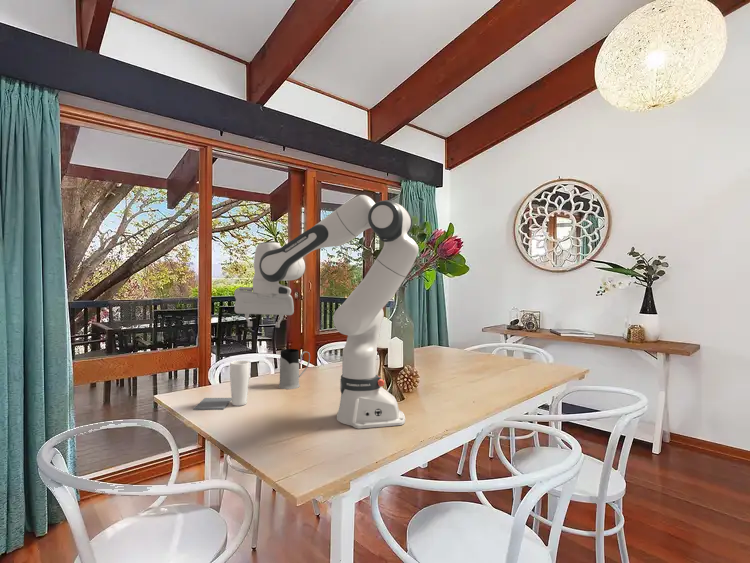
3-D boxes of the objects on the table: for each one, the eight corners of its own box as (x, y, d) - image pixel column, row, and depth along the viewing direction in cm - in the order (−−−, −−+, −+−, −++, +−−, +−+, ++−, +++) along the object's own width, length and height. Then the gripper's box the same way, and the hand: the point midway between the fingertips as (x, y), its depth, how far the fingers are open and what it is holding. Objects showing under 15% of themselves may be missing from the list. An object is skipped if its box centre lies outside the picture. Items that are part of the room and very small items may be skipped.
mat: (232, 399, 157) (232, 397, 157) (223, 409, 145) (223, 408, 145) (204, 399, 156) (204, 397, 156) (193, 409, 144) (193, 408, 144)
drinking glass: (239, 400, 156) (239, 359, 156) (253, 402, 153) (253, 361, 153) (225, 405, 150) (225, 363, 150) (239, 408, 147) (240, 365, 147)
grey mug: (274, 385, 176) (275, 350, 176) (304, 380, 186) (304, 346, 185) (285, 390, 170) (285, 353, 169) (315, 384, 179) (315, 349, 179)
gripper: (233, 287, 143) (232, 327, 144) (295, 289, 148) (293, 329, 148) (235, 286, 149) (233, 324, 150) (294, 288, 154) (292, 326, 155)
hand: (263, 327), depth 149 cm, fingers open, 8 cm apart
